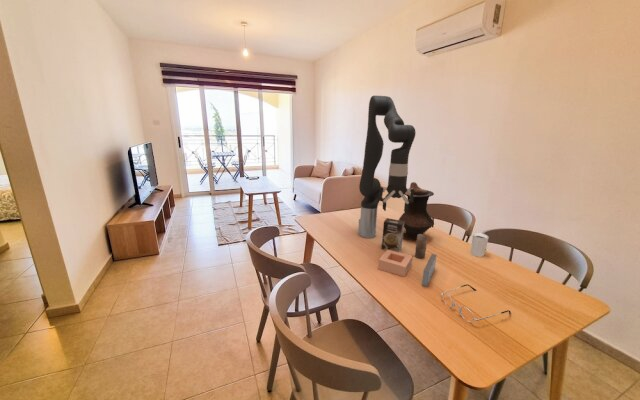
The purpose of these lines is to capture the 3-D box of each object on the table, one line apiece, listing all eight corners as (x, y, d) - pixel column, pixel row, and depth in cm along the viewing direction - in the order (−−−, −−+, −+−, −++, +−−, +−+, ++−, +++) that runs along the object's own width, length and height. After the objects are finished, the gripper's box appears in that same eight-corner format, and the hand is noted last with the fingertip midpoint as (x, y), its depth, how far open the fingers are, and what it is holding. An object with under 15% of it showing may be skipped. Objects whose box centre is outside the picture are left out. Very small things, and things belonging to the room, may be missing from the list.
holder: (378, 268, 113) (378, 259, 112) (386, 258, 123) (387, 249, 121) (404, 276, 108) (405, 267, 106) (411, 265, 117) (412, 255, 116)
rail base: (373, 273, 113) (374, 256, 110) (385, 257, 126) (386, 242, 123) (432, 291, 100) (434, 273, 98) (439, 272, 113) (441, 256, 111)
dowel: (413, 259, 124) (416, 236, 121) (415, 255, 128) (418, 233, 124) (423, 262, 122) (426, 238, 119) (425, 258, 125) (428, 235, 122)
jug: (437, 244, 140) (445, 190, 132) (402, 243, 141) (408, 189, 132) (423, 229, 161) (429, 181, 152) (393, 229, 161) (397, 181, 153)
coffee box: (380, 251, 132) (383, 221, 128) (384, 246, 138) (386, 217, 133) (399, 255, 128) (402, 224, 124) (401, 250, 134) (404, 220, 129)
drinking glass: (487, 258, 126) (491, 239, 123) (472, 256, 127) (475, 237, 125) (481, 251, 132) (485, 233, 130) (467, 250, 134) (470, 232, 131)
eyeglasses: (435, 299, 96) (437, 288, 95) (473, 289, 103) (475, 278, 101) (474, 330, 82) (477, 317, 80) (514, 316, 88) (517, 303, 87)
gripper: (414, 173, 112) (410, 209, 116) (380, 172, 115) (378, 207, 119) (417, 176, 105) (413, 214, 109) (380, 174, 108) (378, 212, 112)
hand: (394, 211), depth 114 cm, fingers open, 8 cm apart
